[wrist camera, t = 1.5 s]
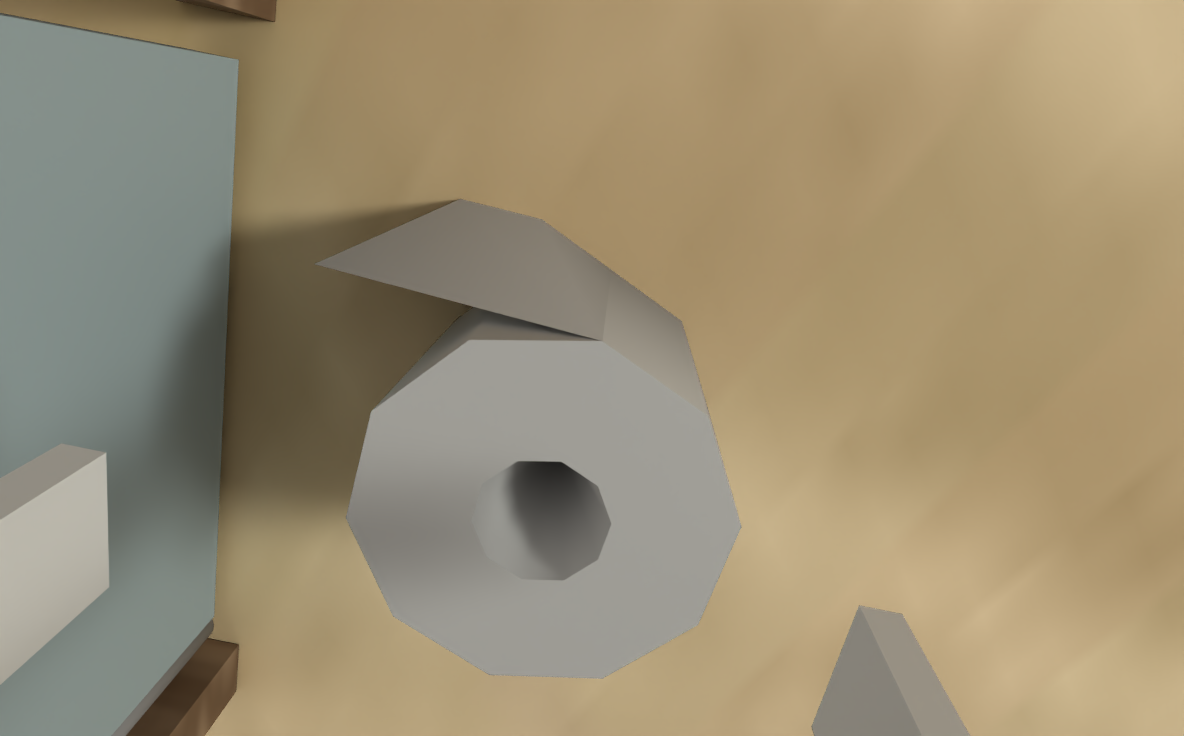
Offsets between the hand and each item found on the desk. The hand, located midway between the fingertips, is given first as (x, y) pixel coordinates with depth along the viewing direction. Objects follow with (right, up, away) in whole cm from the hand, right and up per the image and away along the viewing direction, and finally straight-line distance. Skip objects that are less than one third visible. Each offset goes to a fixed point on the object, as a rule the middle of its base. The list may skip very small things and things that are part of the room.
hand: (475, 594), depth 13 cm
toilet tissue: (+1, +4, +13) cm, 13 cm away
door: (-12, +3, +13) cm, 18 cm away
